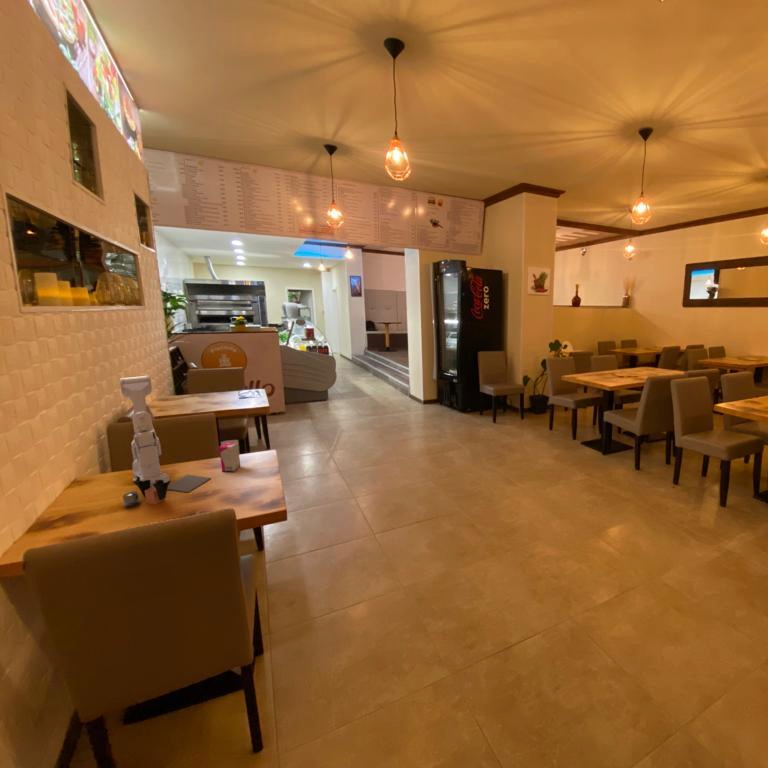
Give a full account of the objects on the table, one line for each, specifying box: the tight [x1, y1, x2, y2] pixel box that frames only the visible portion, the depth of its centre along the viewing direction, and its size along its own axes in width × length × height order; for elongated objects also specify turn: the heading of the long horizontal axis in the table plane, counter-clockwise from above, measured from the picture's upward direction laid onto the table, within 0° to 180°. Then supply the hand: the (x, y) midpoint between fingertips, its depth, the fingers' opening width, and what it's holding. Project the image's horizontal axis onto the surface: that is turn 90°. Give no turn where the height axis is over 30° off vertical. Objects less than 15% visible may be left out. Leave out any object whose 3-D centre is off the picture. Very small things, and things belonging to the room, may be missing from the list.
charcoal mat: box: [167, 474, 212, 494], centre depth 146 cm, size 12×12×1 cm
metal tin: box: [122, 490, 140, 508], centre depth 131 cm, size 4×4×4 cm
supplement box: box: [219, 442, 241, 473], centre depth 158 cm, size 6×6×12 cm
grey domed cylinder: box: [150, 480, 157, 488], centre depth 139 cm, size 4×4×5 cm
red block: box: [144, 486, 165, 505], centre depth 133 cm, size 4×4×5 cm
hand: (155, 497), depth 133 cm, fingers open, 7 cm apart
